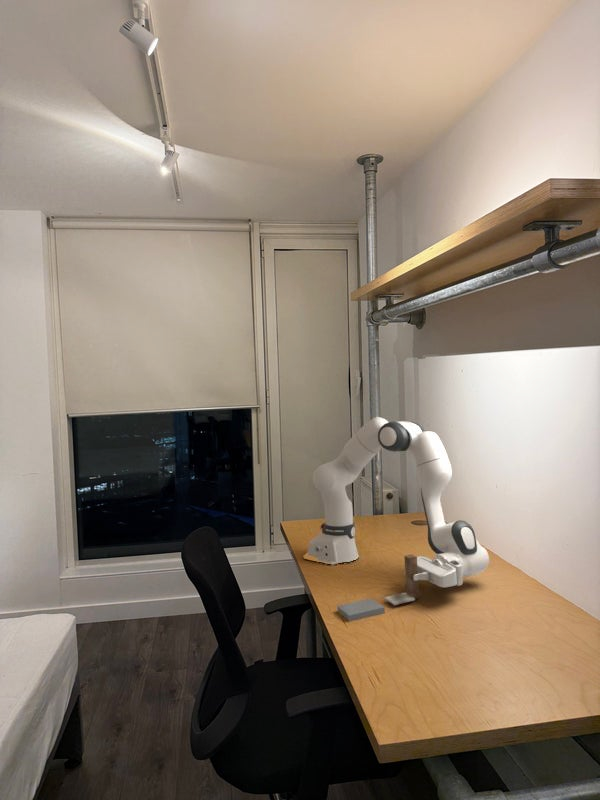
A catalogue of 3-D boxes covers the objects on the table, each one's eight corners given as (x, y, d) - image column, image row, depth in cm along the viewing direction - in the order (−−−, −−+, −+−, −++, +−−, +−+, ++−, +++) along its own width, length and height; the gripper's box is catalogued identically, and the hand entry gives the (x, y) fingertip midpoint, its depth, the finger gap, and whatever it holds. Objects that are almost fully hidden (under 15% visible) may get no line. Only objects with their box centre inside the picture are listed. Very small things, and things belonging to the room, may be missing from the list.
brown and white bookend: (411, 592, 182) (409, 553, 182) (421, 598, 177) (419, 557, 177) (385, 599, 179) (382, 558, 178) (394, 605, 173) (392, 563, 173)
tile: (371, 598, 178) (337, 605, 174) (384, 607, 171) (349, 615, 166) (371, 604, 178) (337, 612, 174) (384, 614, 171) (349, 622, 166)
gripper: (425, 549, 193) (391, 556, 188) (464, 566, 175) (427, 575, 169) (426, 567, 194) (392, 575, 188) (465, 586, 175) (428, 595, 170)
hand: (409, 575), depth 179 cm, fingers closed on brown and white bookend, 3 cm apart
